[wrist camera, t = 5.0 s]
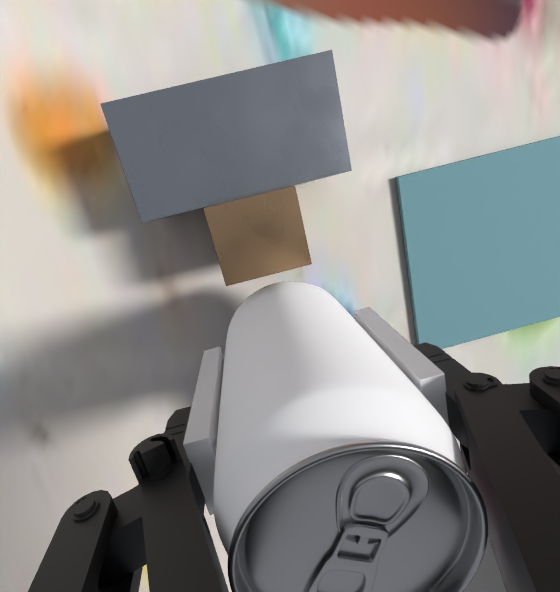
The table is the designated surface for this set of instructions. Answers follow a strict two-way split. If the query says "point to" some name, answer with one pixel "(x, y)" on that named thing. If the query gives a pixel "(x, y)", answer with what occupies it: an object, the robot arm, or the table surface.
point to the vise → (236, 156)
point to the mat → (483, 243)
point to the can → (334, 460)
